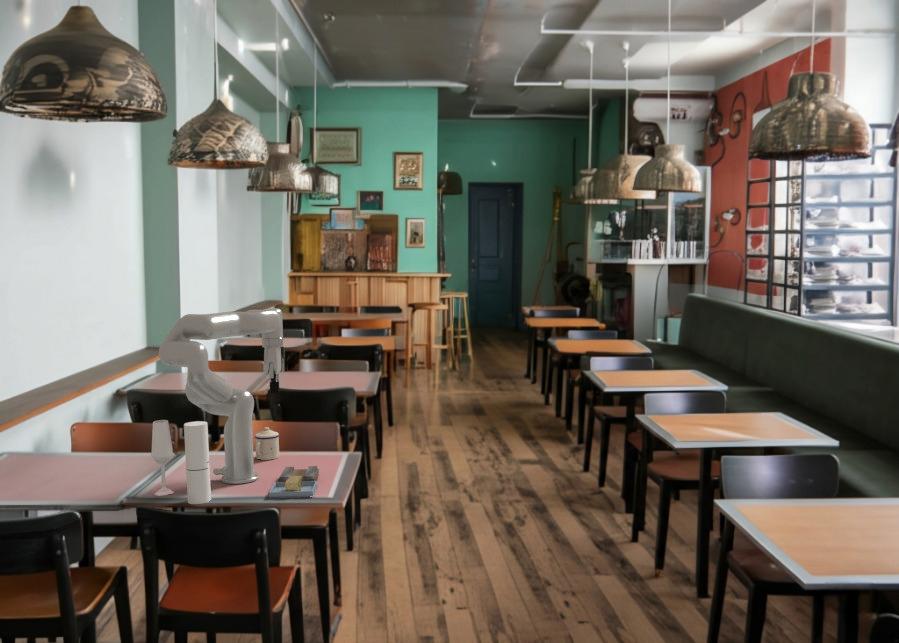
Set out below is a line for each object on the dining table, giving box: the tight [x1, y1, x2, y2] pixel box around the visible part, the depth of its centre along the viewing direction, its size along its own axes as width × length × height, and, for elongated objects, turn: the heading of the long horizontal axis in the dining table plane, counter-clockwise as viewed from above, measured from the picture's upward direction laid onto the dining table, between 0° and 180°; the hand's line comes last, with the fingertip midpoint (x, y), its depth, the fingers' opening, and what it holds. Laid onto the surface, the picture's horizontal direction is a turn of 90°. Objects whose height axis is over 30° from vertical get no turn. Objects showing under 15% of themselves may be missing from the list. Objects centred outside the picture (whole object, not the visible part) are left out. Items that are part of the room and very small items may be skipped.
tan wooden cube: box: [285, 479, 300, 491], centre depth 277 cm, size 4×4×4 cm
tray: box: [268, 480, 318, 499], centre depth 280 cm, size 14×12×2 cm
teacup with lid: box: [254, 426, 280, 461], centre depth 325 cm, size 12×9×12 cm
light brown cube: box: [289, 476, 302, 491], centre depth 281 cm, size 4×4×4 cm
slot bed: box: [277, 465, 320, 482], centre depth 293 cm, size 12×13×4 cm
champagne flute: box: [151, 419, 174, 492], centre depth 282 cm, size 7×7×24 cm
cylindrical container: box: [183, 420, 212, 505], centre depth 272 cm, size 7×7×25 cm
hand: (274, 392), depth 313 cm, fingers closed
